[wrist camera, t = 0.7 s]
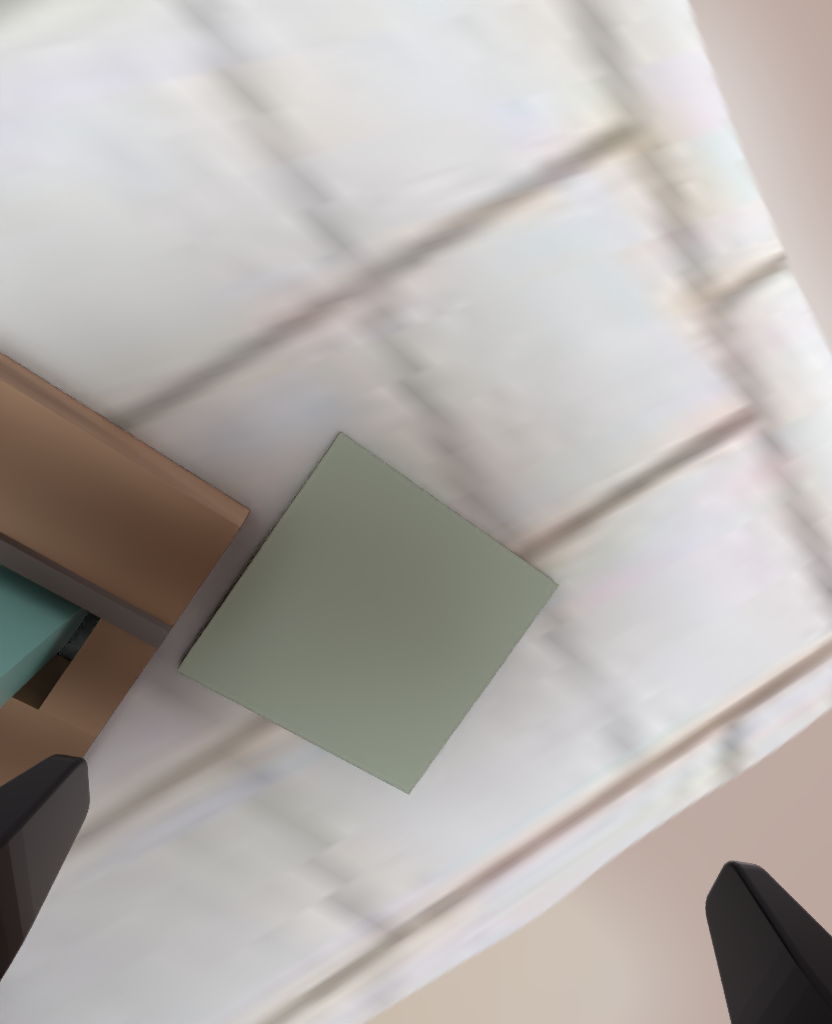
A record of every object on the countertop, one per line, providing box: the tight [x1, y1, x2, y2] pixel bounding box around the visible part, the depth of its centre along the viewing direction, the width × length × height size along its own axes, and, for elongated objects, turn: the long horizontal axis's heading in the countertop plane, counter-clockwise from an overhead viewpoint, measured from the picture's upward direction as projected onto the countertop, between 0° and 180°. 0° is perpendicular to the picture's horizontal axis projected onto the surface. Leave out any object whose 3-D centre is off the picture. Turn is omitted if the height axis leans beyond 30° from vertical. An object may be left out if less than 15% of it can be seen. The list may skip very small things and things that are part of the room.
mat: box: [177, 432, 559, 794], centre depth 21 cm, size 10×10×1 cm
